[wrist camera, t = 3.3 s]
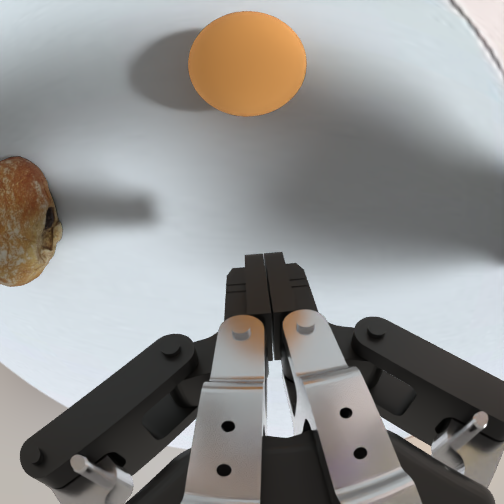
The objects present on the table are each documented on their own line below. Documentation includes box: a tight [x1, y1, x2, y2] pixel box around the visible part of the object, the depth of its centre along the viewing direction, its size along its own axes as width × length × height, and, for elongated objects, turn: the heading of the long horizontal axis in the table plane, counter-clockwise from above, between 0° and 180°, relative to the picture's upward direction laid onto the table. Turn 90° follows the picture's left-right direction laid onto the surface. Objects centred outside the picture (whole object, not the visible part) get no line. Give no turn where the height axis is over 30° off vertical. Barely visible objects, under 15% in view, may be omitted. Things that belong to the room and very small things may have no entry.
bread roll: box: [0, 157, 63, 287], centre depth 14 cm, size 10×10×8 cm
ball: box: [188, 11, 306, 116], centre depth 11 cm, size 5×5×5 cm
